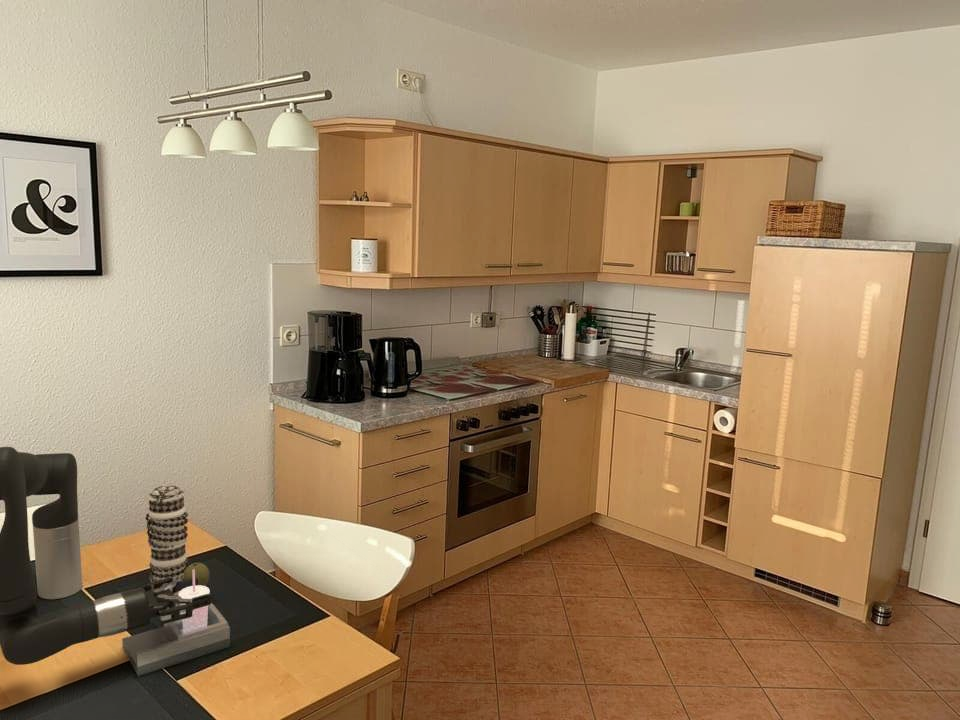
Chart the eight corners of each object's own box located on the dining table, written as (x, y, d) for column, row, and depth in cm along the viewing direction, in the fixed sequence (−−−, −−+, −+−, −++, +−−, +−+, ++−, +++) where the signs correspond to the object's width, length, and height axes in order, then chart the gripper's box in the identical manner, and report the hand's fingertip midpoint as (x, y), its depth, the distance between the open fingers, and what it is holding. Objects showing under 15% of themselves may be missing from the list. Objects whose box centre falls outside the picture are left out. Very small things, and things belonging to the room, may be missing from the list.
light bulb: (201, 612, 168) (200, 570, 166) (179, 608, 169) (177, 567, 167) (215, 600, 174) (213, 560, 172) (193, 596, 175) (192, 557, 173)
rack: (122, 647, 154) (121, 625, 153) (210, 621, 165) (210, 600, 164) (137, 676, 144) (136, 652, 143) (230, 646, 155) (229, 624, 154)
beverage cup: (217, 628, 158) (215, 567, 155) (195, 642, 152) (193, 579, 150) (195, 621, 160) (193, 560, 158) (172, 635, 155) (170, 572, 152)
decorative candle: (155, 602, 172) (150, 499, 167) (143, 586, 179) (139, 486, 174) (195, 591, 177) (192, 491, 173) (183, 575, 184) (179, 479, 180)
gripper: (128, 610, 140) (215, 587, 150) (110, 580, 151) (192, 560, 161) (130, 647, 141) (216, 621, 151) (112, 614, 152) (193, 592, 162)
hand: (204, 590), depth 156 cm, fingers open, 8 cm apart
